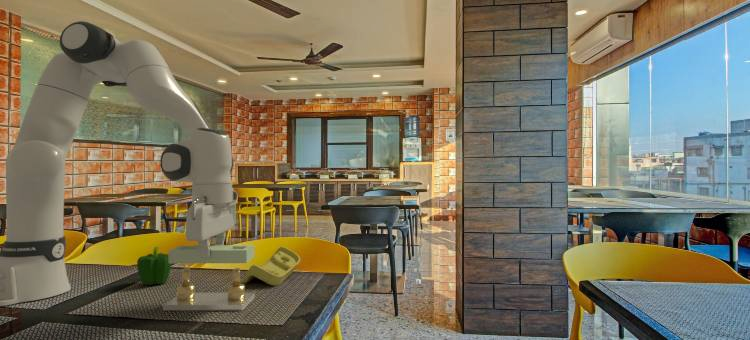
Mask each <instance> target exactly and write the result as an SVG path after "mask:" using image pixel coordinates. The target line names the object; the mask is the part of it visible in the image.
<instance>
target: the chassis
mask: <svg viewBox="0 0 750 340" xmlns="http://www.w3.org/2000/svg"><path fill="white" fill-rule="evenodd" d="M190 271H191V268H190V267H186V268H185V267H184V268H182V269H181V284H179V285H177V286H176V296H175V297H173V298H172V299H170V300H169V301H167V302H165V303H164V304H162V311H243V310H244V309H246V307H247V306H249V304H250V303H251V302H253V300H254V299H255V298H256V293H255V292H245V291H246V290H245V289H246V284H244V283H241V268H238V267H236V268H235V267H234V268H233V269H232V284H229V285H227V292H195V291H196V290H195V289H196V287H195V286H196V285H195V284H194V283H191V272H190Z"/></svg>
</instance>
